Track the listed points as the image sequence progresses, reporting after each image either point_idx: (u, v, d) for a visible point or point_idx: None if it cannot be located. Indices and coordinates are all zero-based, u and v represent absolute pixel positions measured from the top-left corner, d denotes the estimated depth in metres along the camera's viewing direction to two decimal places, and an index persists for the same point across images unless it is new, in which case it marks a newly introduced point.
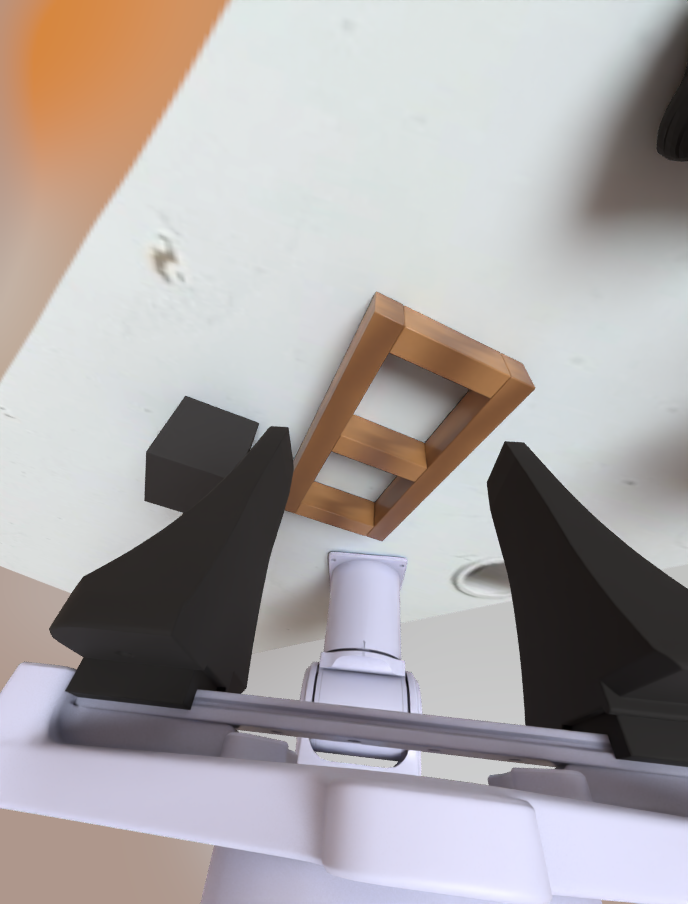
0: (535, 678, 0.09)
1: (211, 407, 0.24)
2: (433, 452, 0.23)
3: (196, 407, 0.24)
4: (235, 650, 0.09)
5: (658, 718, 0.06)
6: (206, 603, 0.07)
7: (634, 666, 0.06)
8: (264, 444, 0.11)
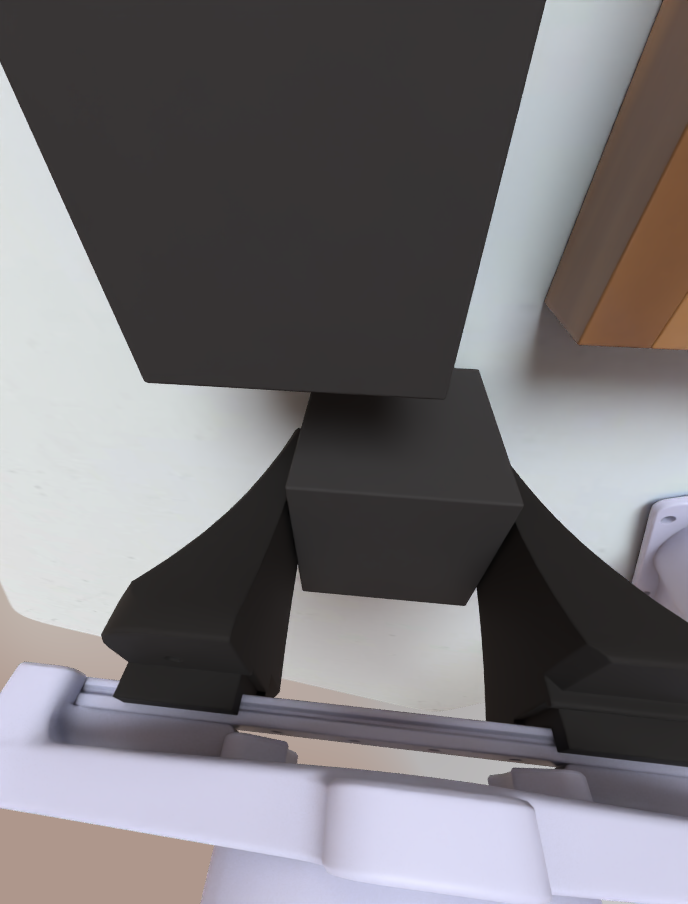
0: (494, 673, 0.09)
1: None
2: None
3: None
4: (273, 654, 0.09)
5: (598, 711, 0.06)
6: (254, 608, 0.07)
7: (571, 661, 0.06)
8: (294, 446, 0.11)
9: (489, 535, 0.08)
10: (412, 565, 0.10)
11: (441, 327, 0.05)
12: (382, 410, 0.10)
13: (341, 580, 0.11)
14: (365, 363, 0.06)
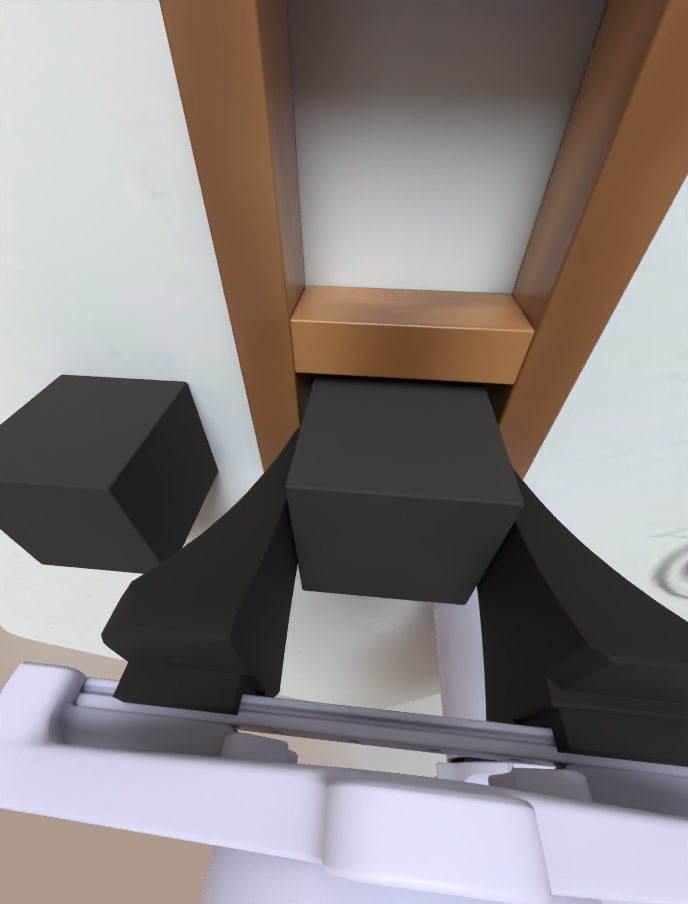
0: (494, 673, 0.09)
1: (102, 379, 0.14)
2: (540, 285, 0.09)
3: (73, 385, 0.14)
4: (272, 654, 0.09)
5: (599, 711, 0.06)
6: (254, 607, 0.07)
7: (572, 661, 0.06)
8: (294, 446, 0.11)
9: (489, 534, 0.08)
10: (412, 564, 0.10)
11: (149, 559, 0.13)
12: (383, 409, 0.10)
13: (340, 579, 0.11)
14: (128, 565, 0.13)
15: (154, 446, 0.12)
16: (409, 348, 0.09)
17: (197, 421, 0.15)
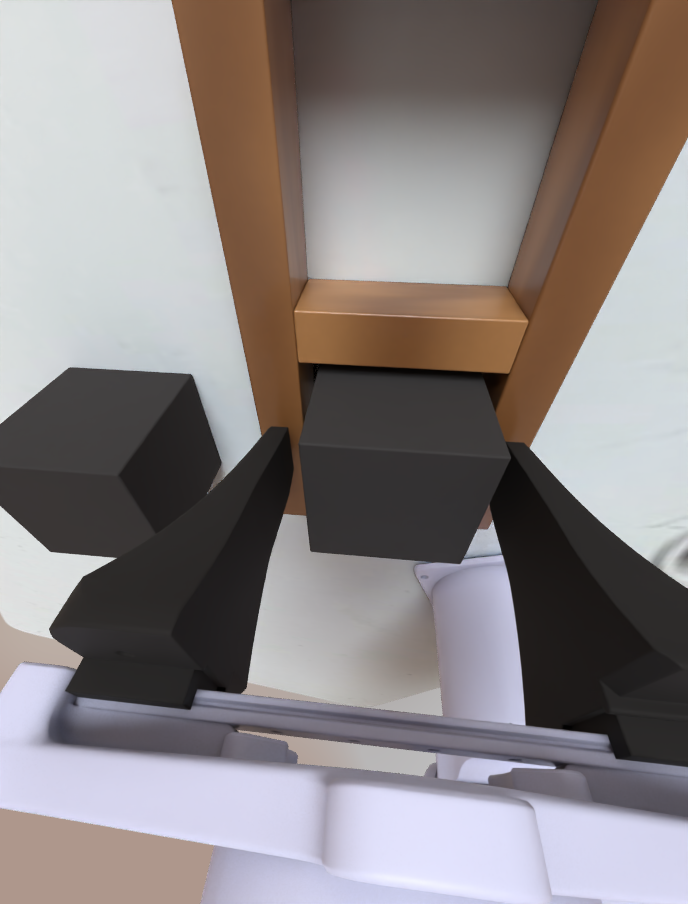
0: (535, 678, 0.09)
1: (109, 372, 0.14)
2: (534, 277, 0.09)
3: (82, 377, 0.14)
4: (235, 650, 0.09)
5: (658, 718, 0.06)
6: (206, 603, 0.07)
7: (634, 667, 0.06)
8: (264, 444, 0.11)
9: (480, 488, 0.09)
10: (412, 521, 0.11)
11: None
12: (385, 381, 0.11)
13: (346, 539, 0.12)
14: None
15: (161, 435, 0.12)
16: (408, 338, 0.10)
17: (201, 413, 0.15)
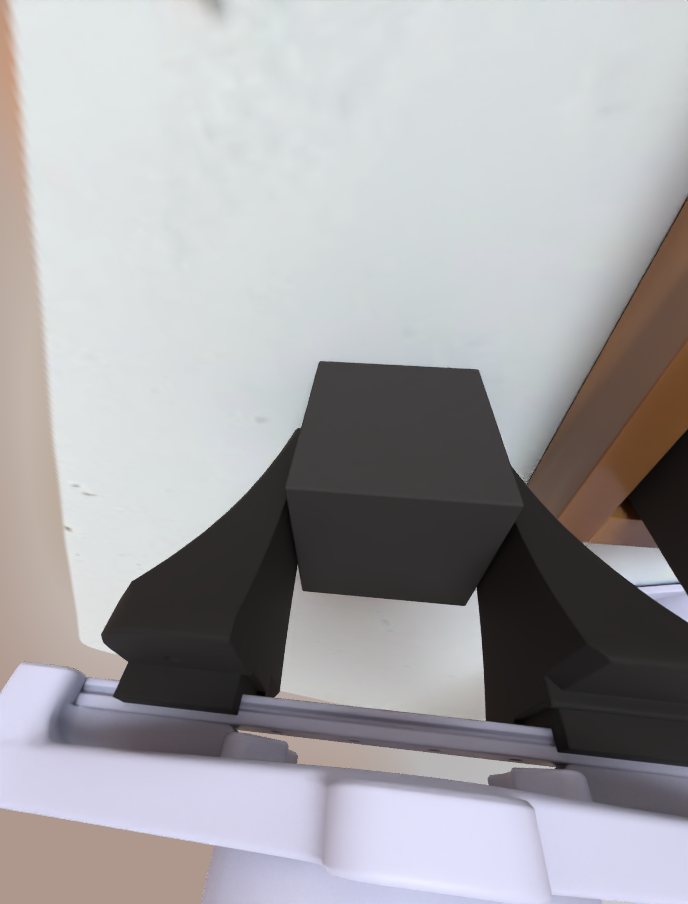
0: (494, 673, 0.09)
1: (375, 366, 0.12)
2: None
3: (348, 373, 0.11)
4: (273, 654, 0.09)
5: (598, 711, 0.06)
6: (254, 607, 0.07)
7: (570, 660, 0.06)
8: (294, 446, 0.11)
9: None
10: None
11: (464, 587, 0.10)
12: None
13: None
14: (425, 594, 0.11)
15: None
16: None
17: None
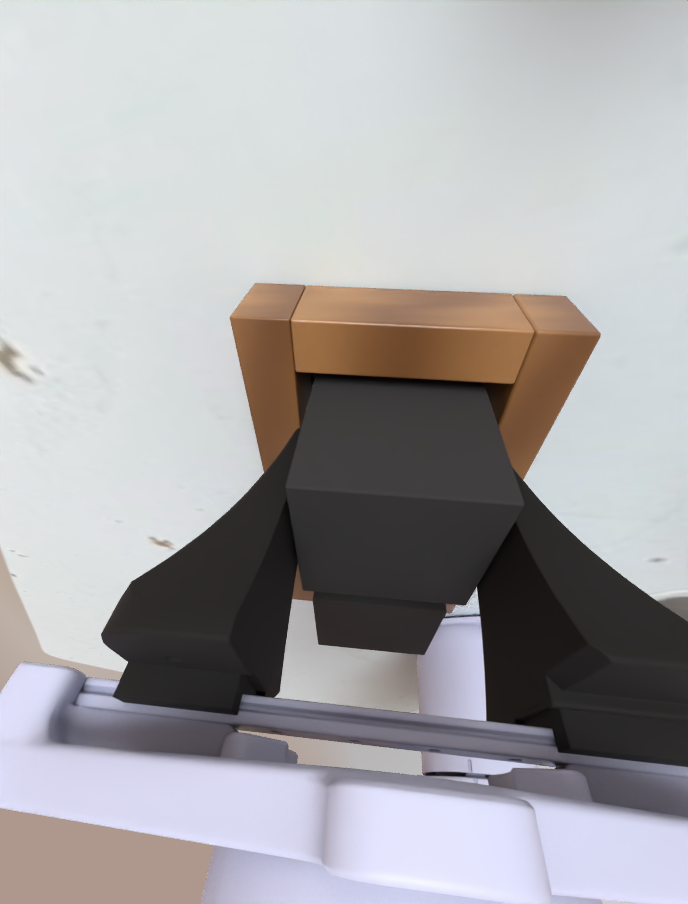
0: (494, 673, 0.09)
1: None
2: None
3: None
4: (273, 654, 0.09)
5: (599, 711, 0.06)
6: (254, 608, 0.07)
7: (572, 661, 0.06)
8: (294, 446, 0.11)
9: (430, 623, 0.14)
10: (388, 634, 0.16)
11: (465, 587, 0.10)
12: None
13: (343, 640, 0.17)
14: (425, 593, 0.11)
15: None
16: None
17: None
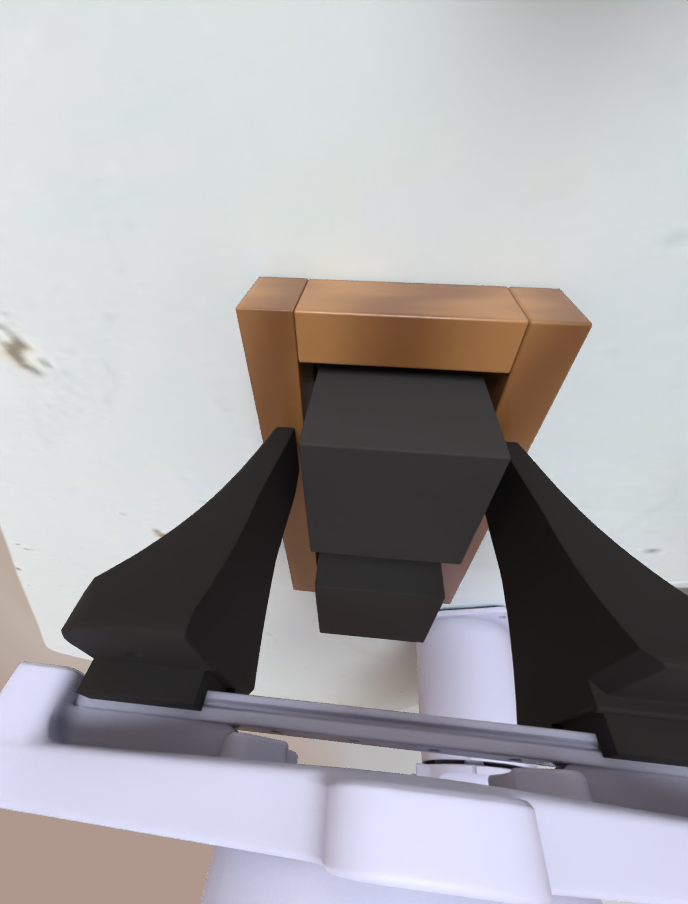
0: (526, 677, 0.09)
1: None
2: None
3: None
4: (244, 651, 0.09)
5: (645, 717, 0.06)
6: (217, 604, 0.07)
7: (620, 665, 0.06)
8: (271, 444, 0.11)
9: (429, 609, 0.15)
10: (388, 621, 0.16)
11: (460, 544, 0.11)
12: None
13: (344, 627, 0.17)
14: (423, 552, 0.12)
15: None
16: None
17: None
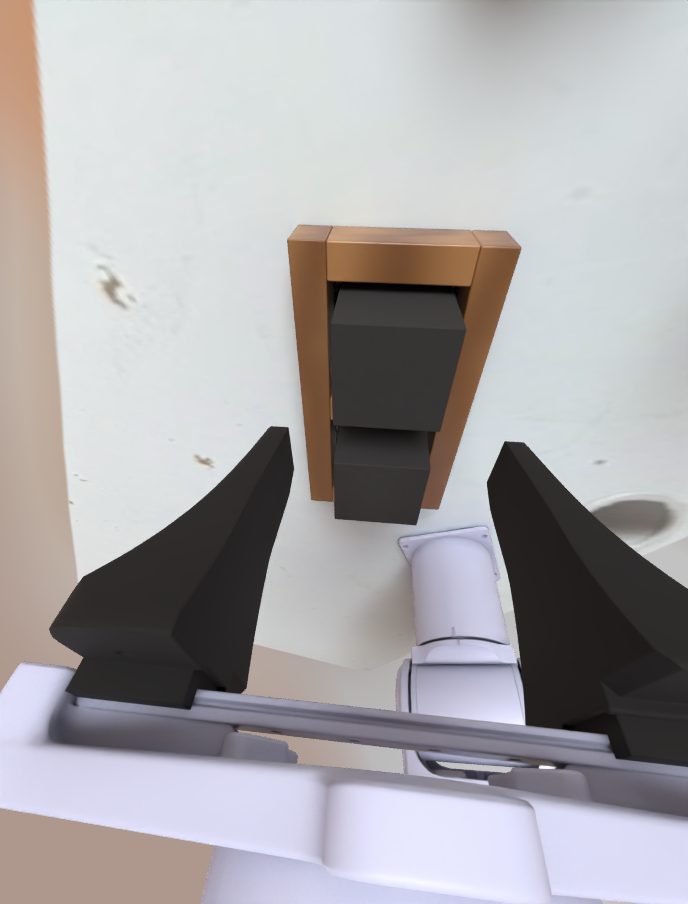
0: (535, 678, 0.09)
1: None
2: None
3: None
4: (235, 650, 0.09)
5: (658, 718, 0.06)
6: (206, 603, 0.07)
7: (634, 667, 0.06)
8: (264, 444, 0.11)
9: (419, 483, 0.20)
10: (388, 501, 0.21)
11: (438, 411, 0.16)
12: (374, 429, 0.21)
13: (354, 511, 0.22)
14: (413, 420, 0.17)
15: None
16: None
17: None
